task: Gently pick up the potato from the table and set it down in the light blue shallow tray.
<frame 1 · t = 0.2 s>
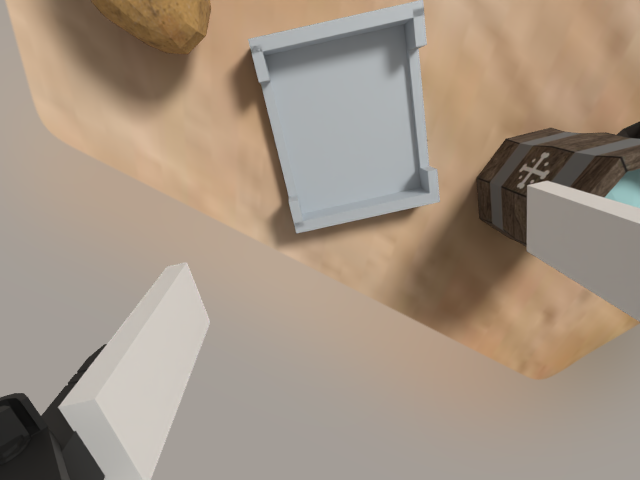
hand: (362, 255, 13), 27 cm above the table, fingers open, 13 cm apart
mug: (551, 170, 42), on the table
light blue shallow tray: (348, 126, 38), on the table
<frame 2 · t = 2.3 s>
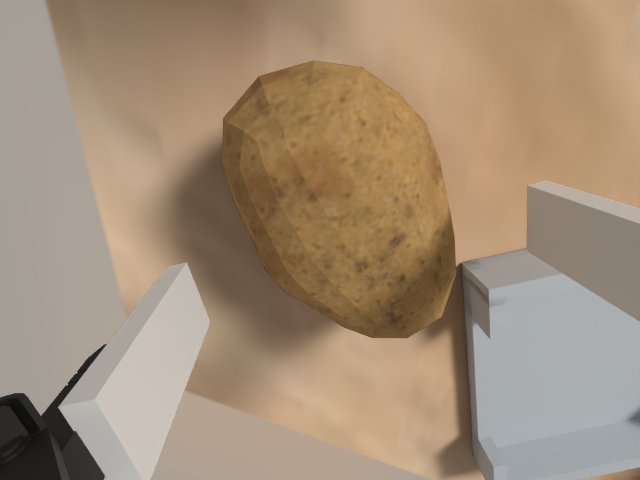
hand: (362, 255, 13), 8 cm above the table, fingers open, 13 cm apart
potato: (338, 190, 21), on the table
light blue shallow tray: (571, 349, 27), on the table
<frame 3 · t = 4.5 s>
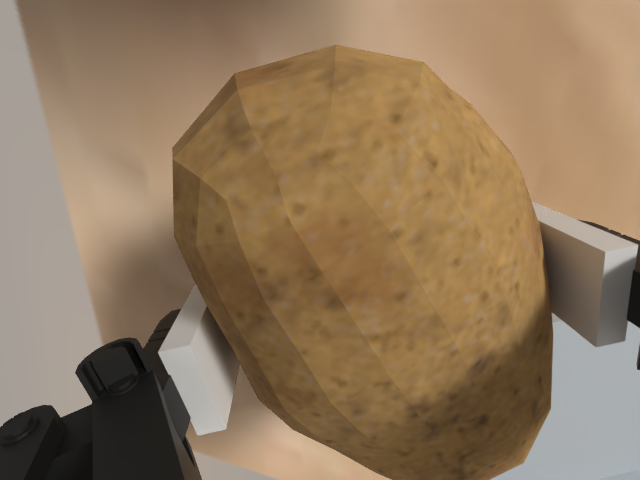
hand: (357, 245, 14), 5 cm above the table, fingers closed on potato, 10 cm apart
potato: (357, 239, 15), point 4 cm above the table, touching gripper
light blue shallow tray: (588, 391, 25), on the table
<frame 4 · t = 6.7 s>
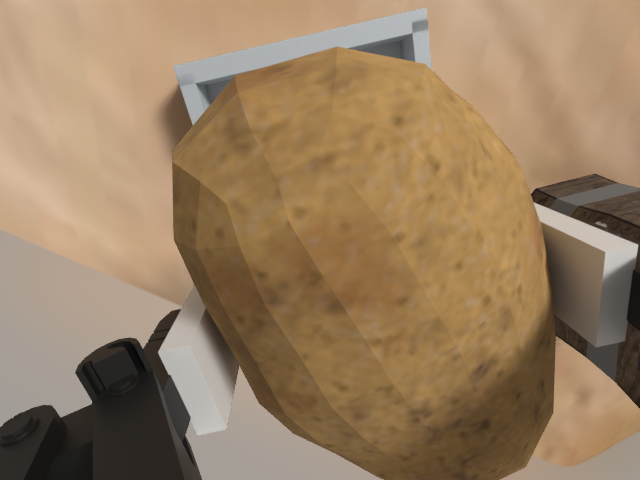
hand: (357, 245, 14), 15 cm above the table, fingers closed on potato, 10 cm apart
mug: (593, 226, 32), on the table
potato: (358, 241, 15), point 15 cm above the table, touching gripper
light blue shallow tray: (325, 176, 28), on the table
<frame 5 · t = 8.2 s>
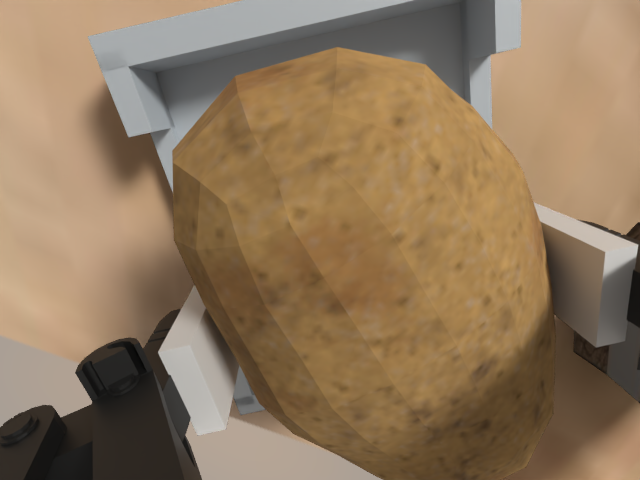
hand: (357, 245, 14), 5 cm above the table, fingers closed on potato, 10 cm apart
potato: (358, 241, 15), point 5 cm above the table, touching gripper
light blue shallow tray: (340, 207, 19), on the table
when the fingers open (3 cm above the table, at t = 9.2 s): potato drops 2 cm, resting on light blue shallow tray.
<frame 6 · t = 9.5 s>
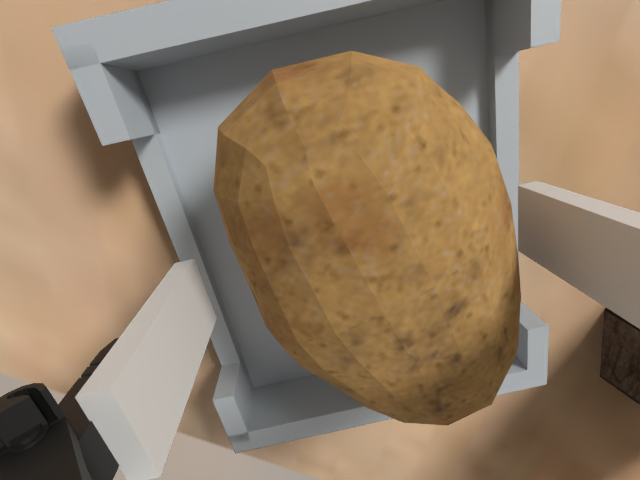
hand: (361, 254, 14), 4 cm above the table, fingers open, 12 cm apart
potato: (360, 219, 17), resting on light blue shallow tray
light blue shallow tray: (346, 222, 17), on the table
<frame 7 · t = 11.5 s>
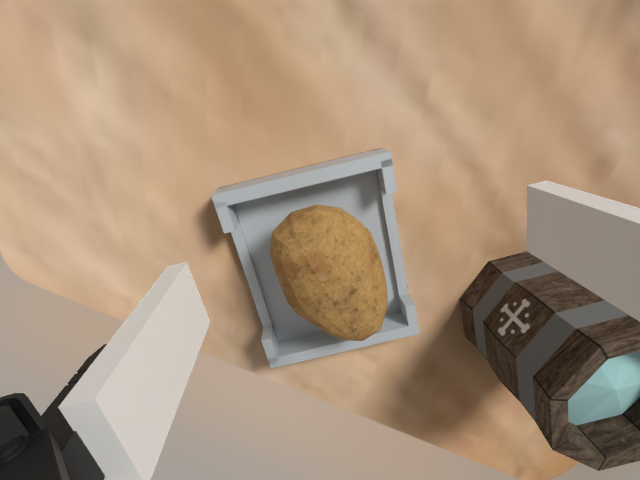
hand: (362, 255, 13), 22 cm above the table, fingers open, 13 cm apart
mug: (538, 287, 40), on the table
potato: (328, 256, 36), resting on light blue shallow tray
light blue shallow tray: (322, 257, 37), on the table
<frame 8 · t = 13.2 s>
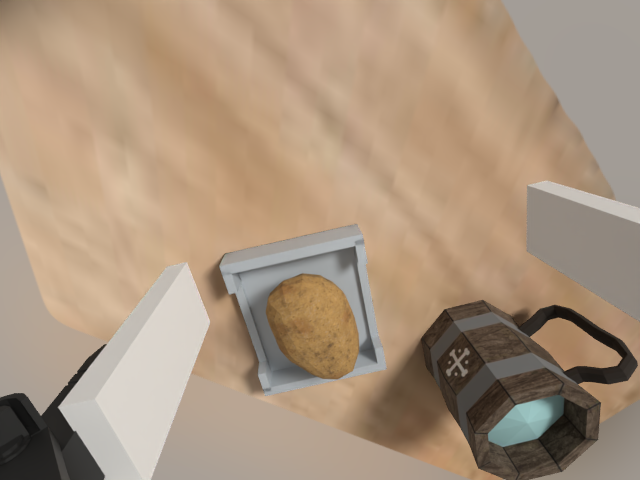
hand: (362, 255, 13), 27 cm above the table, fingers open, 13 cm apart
mug: (486, 329, 49), on the table
potato: (313, 305, 45), resting on light blue shallow tray
light blue shallow tray: (308, 306, 45), on the table
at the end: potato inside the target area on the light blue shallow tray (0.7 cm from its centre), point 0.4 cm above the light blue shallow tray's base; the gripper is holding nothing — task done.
